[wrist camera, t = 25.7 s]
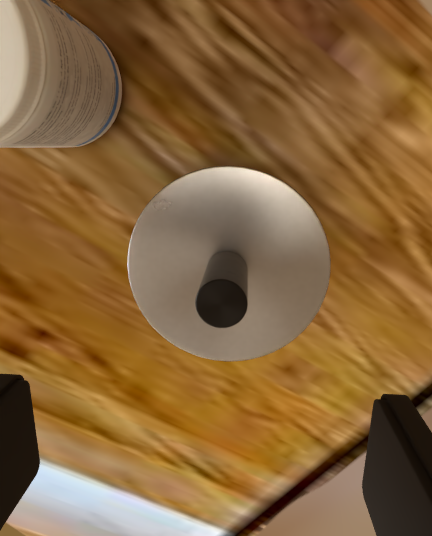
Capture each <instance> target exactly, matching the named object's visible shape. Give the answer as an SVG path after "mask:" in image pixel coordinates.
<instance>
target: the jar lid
mask: <svg viewBox="0 0 432 536" xmlns="http://www.w3.org/2000/svg"><path fill="white" fill-rule="evenodd" d="M128 275H129V281H130V285H131V289H132V292H133V295H134V298H135V300H136V303H137V304H138V306H139V308H140V310H141V312H142V314H143V315H144V316H145V318H146V319H147V320H148V322H149V323H150V324H151V325H152V327H153V328H154V329H155V330H156V331H157V332H158V333H159V334H160V335H162V336H163V337H164V338H165V339H166V340H168V341H169V342H171V343H172V344H174V345H175V346H177V347H178V348H180V349H182V350H184V351H186V352H188V353H191V354H194V355H197V356H199V357H203V358H207V359H212V360H220V361H241V360H249V359H253V358H257V357H261V356H264V355H267V354H269V353H272V352H274V351H276V350H278V349H280V348H282V347H284V346H285V345H287V344H288V343H290V342H291V341H292V340H294V339H295V338H296V337H297V336H298V335H299V334H301V333H302V332H303V331H304V330H305V329H306V327H307V326H308V325H309V324H310V323H311V321H312V320H313V319H314V317H315V315H316V314H317V312H318V311H319V309H320V307H321V305H322V302H323V300H324V298H325V295H326V291H327V288H328V284H329V278H330V252H329V246H328V242H327V238H326V234H325V232H324V230H323V227H322V225H321V222H320V221H319V219H318V217H317V216H316V214H315V212H314V210H313V209H312V208H311V207H310V205H309V204H308V203H307V202H306V200H305V199H304V198H303V197H302V196H301V195H300V194H298V193H297V192H296V191H295V190H294V189H293V188H291V187H290V186H289V185H287V184H286V183H285V182H283V181H281V180H280V179H278V178H276V177H274V176H272V175H270V174H267V173H265V172H262V171H259V170H256V169H251V168H247V167H240V166H215V167H210V168H204V169H200V170H197V171H194V172H191V173H188V174H186V175H184V176H182V177H180V178H178V179H176V180H175V181H173V182H172V183H170V184H169V185H167V186H166V187H164V188H163V189H162V190H161V191H160V192H159V193H158V194H156V195H155V196H154V197H153V199H152V200H151V201H150V202H149V203H148V204H147V206H146V207H145V208H144V210H143V212H142V213H141V215H140V216H139V218H138V220H137V223H136V225H135V227H134V229H133V232H132V236H131V239H130V243H129V250H128Z"/></svg>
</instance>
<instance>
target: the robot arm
mask: <svg viewBox="0 0 432 536" xmlns="http://www.w3.org/2000/svg"><path fill="white" fill-rule="evenodd" d="M39 464H40V459H39V451H38V444H37V437H36V429H35V422H34V415H33V407H32V400H31V393H30V386H29V383H28V381H25V380H24V378H23V377H22V376H21V375H14V374H0V530H1V528H2V527H3V525H4V524H5V522H6V521H7V519H8V518H9V516H10V514H11V513H12V511H13V510H14V508H15V507H16V505H17V504H18V502H19V501H20V499H21V498H22V496H23V494H24V493H25V491H26V490H27V488H28V487H29V485H30V484H31V482H32V481H33V479H34V478H35V476H36V474H37V472H38V469H39ZM362 488H363V495H364V500H365V502H366V505H367V508H368V511H369V514H370V517H371V520H372V523H373V526H374V529H375V532H376V535H377V536H432V432H431V431H430V429H429V428H428V426H427V425H426V423H425V422H424V420H423V419H422V417H421V416H420V414H419V412H418V411H417V409H416V408H415V406H414V405H413V403H412V402H411V400H410V399H409V397H408V396H406V395H394V394H383V395H382V397H381V400H380V399H376V400H375V401H374V404H373V411H372V418H371V425H370V432H369V439H368V446H367V453H366V460H365V468H364V475H363V482H362Z"/></svg>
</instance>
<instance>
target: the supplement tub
mask: <svg viewBox="0 0 432 536" xmlns="http://www.w3.org/2000/svg"><path fill="white" fill-rule="evenodd" d="M121 99H122V82H121V76H120V72H119V69H118V66H117V63H116V61H115V59H114V57H113V55H112V53H111V51H110V50H109V48H108V47H107V45H106V44H105V43H104V42H103V41H102V40H101V39H100V38H99V37H98V36H97V35H96V34H95V33H93V32H92V31H91V30H90V29H88V28H87V27H86V26H84V25H83V24H81V23H80V22H79V21H77V20H76V19H75V18H73V17H72V16H70V15H69V14H68V13H66V12H65V11H64V10H62V9H61V8H59V7H58V6H57V5H55V4H54V3H52V2H51V1H50V0H0V147H16V148H32V147H78V146H83V145H86V144H89V143H91V142H93V141H95V140H96V139H98V138H99V137H101V136H102V135H103V134H104V133H105V132H106V131H107V130H108V129H109V128H110V127H111V125H112V124H113V122H114V121H115V119H116V117H117V114H118V111H119V109H120V104H121Z"/></svg>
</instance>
